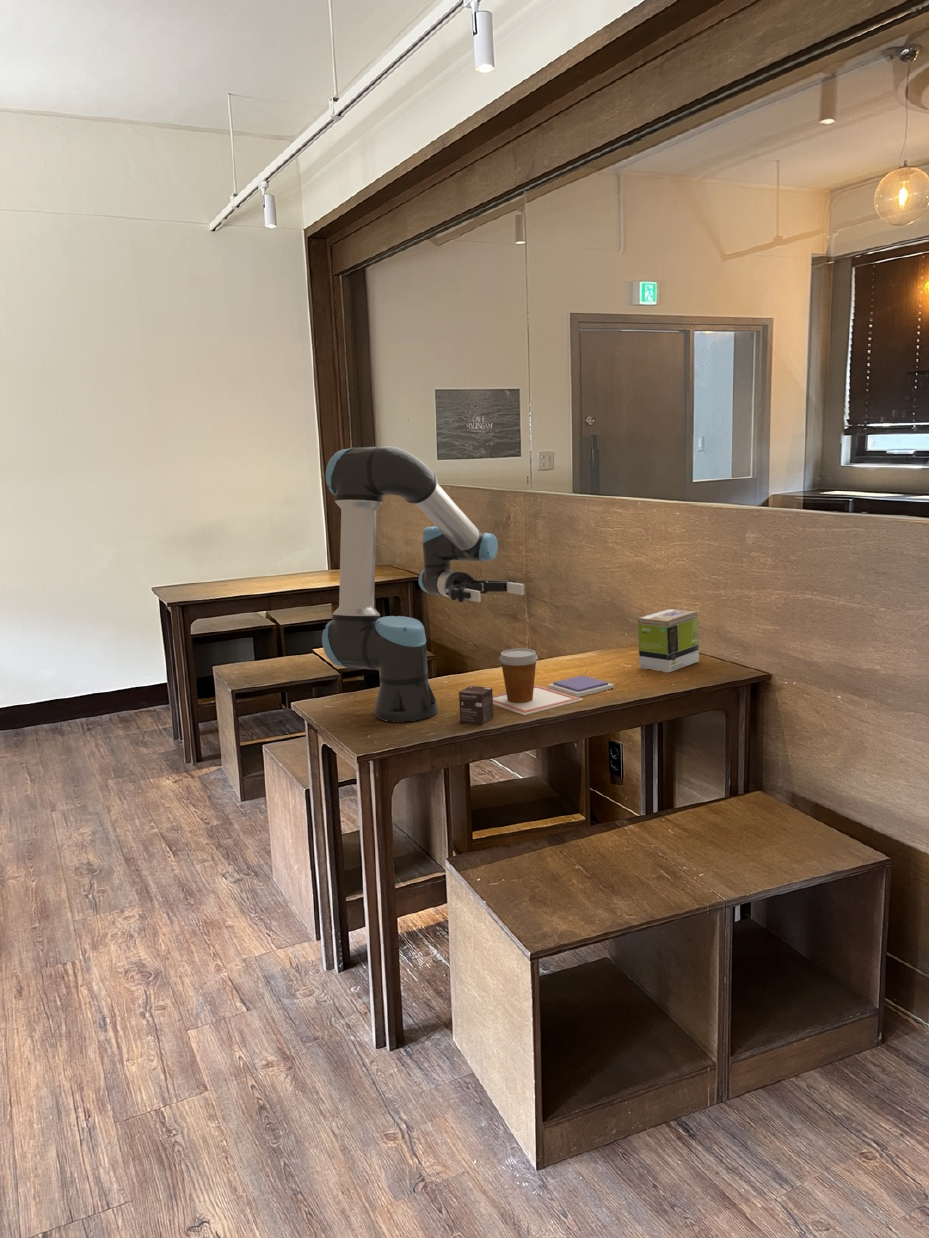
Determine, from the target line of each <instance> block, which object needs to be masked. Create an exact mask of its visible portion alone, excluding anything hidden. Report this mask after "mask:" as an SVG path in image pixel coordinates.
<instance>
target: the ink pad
mask: <svg viewBox="0 0 929 1238" xmlns="http://www.w3.org/2000/svg"><path fill="white" fill-rule="evenodd" d="M547 688H548V689H552V690H555V691H558V692H561V693H565V694H568V695H571V696H574V697H578V698H581V697H585V696H588V694H589V695H593V694H596V693H600V692H604V690H605V691H609V690H612V689H611V688H613V689H614V688H615V684H614V683H609V681H604V680H602V679H597V678H594V677H590V676H586V675H583V674H582V675H579V676H578V675H577V676H574V677H570V678H565V679H561V680H556V681H554V682H552V683H548V684H547ZM608 689H609V690H608ZM592 693H593V694H592Z"/></svg>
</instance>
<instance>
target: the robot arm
mask: <svg viewBox="0 0 929 1238" xmlns="http://www.w3.org/2000/svg"><path fill="white" fill-rule="evenodd" d="M325 481H326V482H325V483H326V486H327V487H328V491H329V492H330V493H331V495H334V499H335V502H334V503H336V505H337V506H338V507H339V508H340V511H341V513H340V514H341V516H340V557H339V558H340V560H339V593H338V594H339V599H338V602H339V603H338V605H339V606H338V607H337V608H336V609H335V610H334V611H333V613H332V620H330V621H329V622H327V624H326V625H325V628H324V629H323V630H322V631H323V632H322V635H321V641H322V643H321V644H322V649H323V651H324V654H325V656H326V657H327V659H328V660H329V661H330V663H331V664H334V665H335V666H337V667H344V668H346V669H365V670H373V671H378V672H379V689H378V692H377V696H376V700H375V701H376V702H375V705H374V715H376V716H375V718H376V717H377V718H380V719H383V720H387V721H395V722H394V723H405V722H404V721H412V722H416V720H418V721H422V720H421V719H423V720H426V719H429V718H431V717H433V716H435V715H437V713H438V702H437V699H436V697H435V694H434V692H433V690H432V687H431V684H430V682H429V675H428V673H429V671H428V656H427V655H428V653H427V637H426V632H425V626H424V625H423V622H421V621H420V620H419V619H416V618H414V617H410V616H409V617H408V616H403V615H398V616H397V615H396V616H395V615H389V616H388V615H387V616H382V617H381V614H380V612H379V611H378V610H377V609H375V586H376V585H375V579H376V575H375V574H376V542H377V541H376V538H377V537H376V535H377V511H378V509H379V508H380V507H382V505H383V502H384V496H389V495H390V496H398V497H401V498H403V499H404V500H405V501H406V502H407V503H408V504H411V505H415V506H416V507H417V508H418V509H420V511H421V512H422V513H423V514H424V515H425V516H426V517H427V518H428V519H429V520H430V521H431V523H433V524H434V525H433V526H427V527H425V528H424V529H423V530H422V543H421V544H422V551H423V554H422V555H423V564H424V566H423V570H421V572H420V574H419V577H418V585H419V587H420V589H421V590H422V591H423V592H425V593H427V594H430V595H432V596H439V597H440V596H441V597H444V598H448V599H450V600H451V601H455V600H458V602H459V603H463V602H464V601H470V602H475V603H480V602H482V601H481V600H482V599H481V597H482V596H481V594H487V593H488V592H489V593H490V592H493V593H494V592H495V593H496V592H507V593H509V594H515V595H520V596H523V595H525V584H524V583H517V581H516V580H514V579H513V580H512V578H509V579H508V580H506V579H505V580H503V579H501V580H499V579H498V580H495V579H487V578H486V579H481V580H480V579H479V580H478V579H477V578H476V579H474V577H473V576H472V575H471V574H469V572H468V573H467V572H465V571H463V572H462V571H457V570H452V568H451V565H452V562H451V561H461V562H463V561H467V562H487V561H488V562H489V561H492V560H494V559H495V558H496V557H497V554H498V550H499V544H498V543H499V542H498V539H497V536H495V534H493V533H489V532H488V533H487V532H481V531H480V530H479V529H478V527H477V526H475V524H474V523H473V522H472V521H471V520H470V519H469V517H468V516H467V515H466V514H465V513H464V512H463V511H462V510H461V508H460V507H459V506H458V505H457V504H456V503H455V501H453V499H452V498H451V497H450V496H449V494H447V492H445V490H444V489H443V488H442V487H441V485H440V484H439V483H438V478H437V475H436V474H435V473H434V471H433V470H432V469H431V468H430V467H429V466H428V465H427V464H426V463H425V462H424V461H422V460H421V459H420V458H418V457H417V456H415V455H413V454H412V453H410V452H409V451H407V450H405V449H402V448H400V447H397V446H393V445H392V446H391V445H382V446H361V447H351V448H350V447H349V448H345V449H340V450H338V451H337V452H335V453H334V455H332V456H331V457H330V459H329V460H328V463H327V466H326V470H325ZM377 718H376V719H377ZM425 718H426V719H425ZM387 721H386V722H387ZM398 721H399V722H398Z"/></svg>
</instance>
